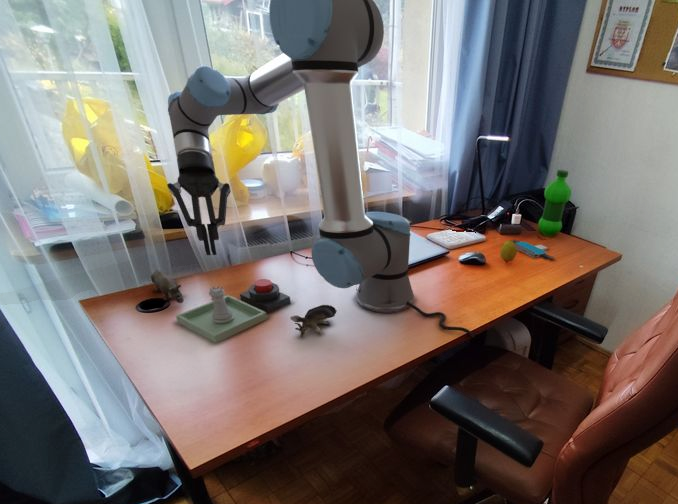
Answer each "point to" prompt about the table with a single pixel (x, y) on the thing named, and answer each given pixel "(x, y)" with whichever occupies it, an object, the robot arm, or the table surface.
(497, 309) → the table surface
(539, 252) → the blue usb hub
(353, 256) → the robot arm
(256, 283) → the button
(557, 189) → the plastic bottle
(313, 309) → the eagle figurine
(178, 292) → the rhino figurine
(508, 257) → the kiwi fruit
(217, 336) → the green tray
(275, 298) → the control box
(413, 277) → the table surface
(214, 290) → the rook chess piece
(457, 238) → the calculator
